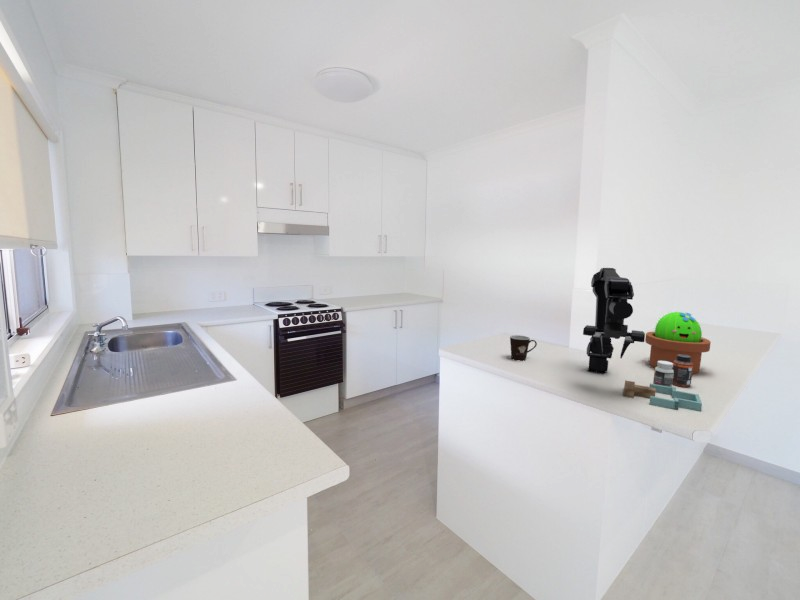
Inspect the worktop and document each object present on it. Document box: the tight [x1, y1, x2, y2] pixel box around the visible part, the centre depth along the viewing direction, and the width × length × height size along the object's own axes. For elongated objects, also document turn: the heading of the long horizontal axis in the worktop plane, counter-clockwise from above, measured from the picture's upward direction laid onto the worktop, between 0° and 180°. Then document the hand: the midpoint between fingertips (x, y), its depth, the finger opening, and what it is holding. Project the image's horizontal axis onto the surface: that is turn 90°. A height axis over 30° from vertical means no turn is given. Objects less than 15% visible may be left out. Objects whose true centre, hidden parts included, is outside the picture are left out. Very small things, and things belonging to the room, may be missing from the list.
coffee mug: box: [509, 334, 538, 362], centre depth 169 cm, size 12×9×10 cm
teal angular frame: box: [648, 382, 703, 412], centre depth 123 cm, size 14×15×2 cm
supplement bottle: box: [672, 354, 693, 388], centre depth 138 cm, size 6×6×11 cm
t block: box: [622, 379, 656, 399], centre depth 129 cm, size 9×9×3 cm
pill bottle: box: [652, 361, 674, 387], centre depth 134 cm, size 6×6×10 cm
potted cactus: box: [644, 311, 711, 375], centre depth 158 cm, size 22×22×25 cm
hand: (611, 356), depth 132 cm, fingers open, 6 cm apart
